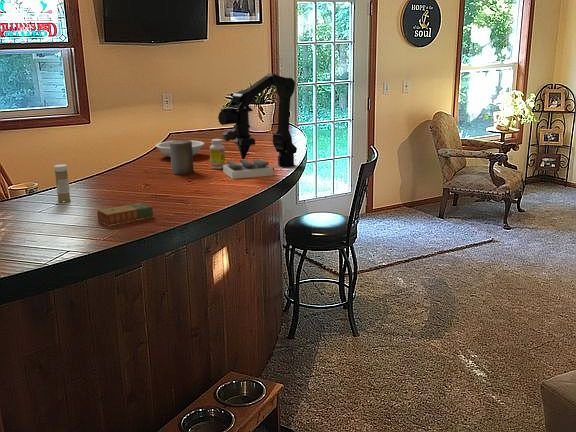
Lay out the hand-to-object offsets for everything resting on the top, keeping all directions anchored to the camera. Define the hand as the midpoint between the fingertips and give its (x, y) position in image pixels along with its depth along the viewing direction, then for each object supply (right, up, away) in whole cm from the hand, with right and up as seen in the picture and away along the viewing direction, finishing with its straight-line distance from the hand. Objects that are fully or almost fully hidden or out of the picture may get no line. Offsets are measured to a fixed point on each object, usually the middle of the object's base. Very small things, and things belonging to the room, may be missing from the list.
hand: (243, 158), depth 274 cm
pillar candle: (-27, -6, +7) cm, 29 cm away
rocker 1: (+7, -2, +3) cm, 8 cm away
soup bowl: (-34, +5, +43) cm, 56 cm away
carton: (-34, -26, -65) cm, 78 cm away
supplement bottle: (-13, -3, +16) cm, 21 cm away
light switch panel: (+3, -6, +3) cm, 7 cm away
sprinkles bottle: (-63, -19, -40) cm, 77 cm away
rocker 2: (+2, -2, +1) cm, 3 cm away
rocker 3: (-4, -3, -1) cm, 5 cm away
